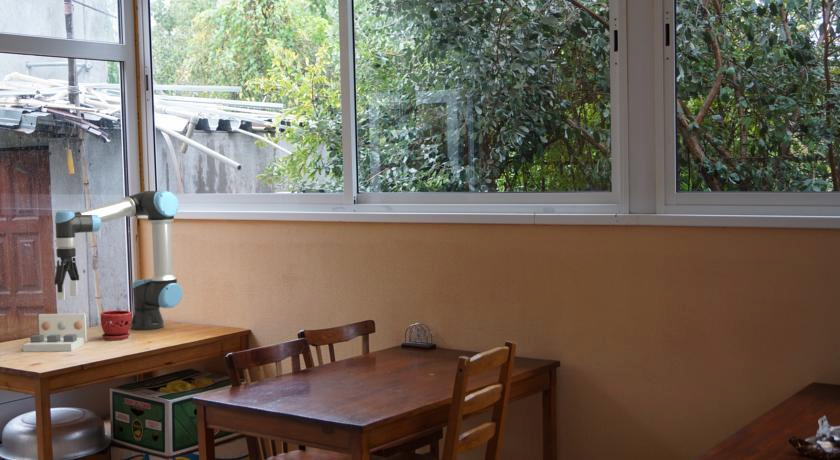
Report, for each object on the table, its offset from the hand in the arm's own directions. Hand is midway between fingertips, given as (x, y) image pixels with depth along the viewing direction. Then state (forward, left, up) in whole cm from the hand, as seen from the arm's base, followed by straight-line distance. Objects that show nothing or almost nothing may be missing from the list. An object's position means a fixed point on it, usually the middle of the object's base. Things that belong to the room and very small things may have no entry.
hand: (67, 297), depth 394 cm
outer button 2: (+14, 0, -19) cm, 23 cm away
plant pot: (-13, -20, -22) cm, 32 cm away
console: (+7, 0, -21) cm, 22 cm away
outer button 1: (0, 0, -19) cm, 19 cm away
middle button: (+7, 0, -19) cm, 20 cm away
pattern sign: (+7, -10, -21) cm, 24 cm away
